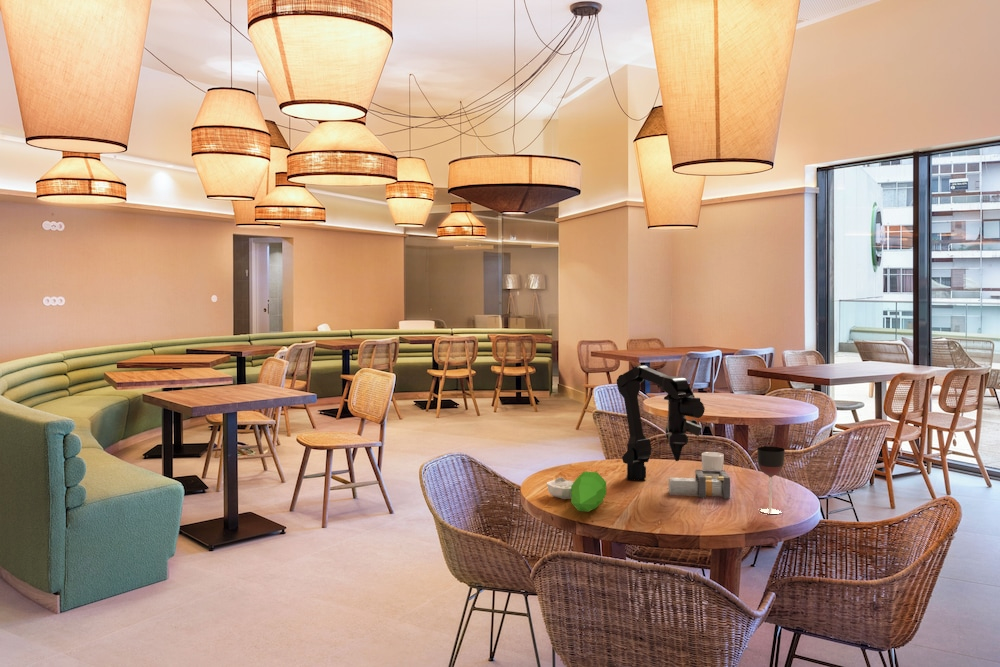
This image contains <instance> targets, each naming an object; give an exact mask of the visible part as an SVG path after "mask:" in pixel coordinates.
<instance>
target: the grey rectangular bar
mask: <svg viewBox="0 0 1000 667" xmlns="http://www.w3.org/2000/svg"><path fill="white" fill-rule="evenodd" d="M668 493H669V496H694V497H695V496H696V497H697V496H698V497H699V478H695V477H668ZM705 497H723V480H717V479H712V480H706V492H705Z"/></svg>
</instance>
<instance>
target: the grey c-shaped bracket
mask: <svg viewBox="0 0 1000 667" xmlns="http://www.w3.org/2000/svg"><path fill="white" fill-rule="evenodd" d="M694 472H695V473H694V476H695V477H694V478H699V496H698V498H699V499H706V496H705V492H706V480H712V477H711V476H705V475H704V474H719V476H717V480H723V496H722V498H723V500H731V477H730V476H729V474H728V473H727V471H726V470H725V469H723V470H702V469H695V470H694Z"/></svg>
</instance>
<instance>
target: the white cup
mask: <svg viewBox="0 0 1000 667" xmlns="http://www.w3.org/2000/svg"><path fill="white" fill-rule="evenodd" d="M724 456H725V454H724V453H722V452H717V451H715V452H714V451H704V452H702V453H701V467H702V469H701V470H724V458H725V457H724ZM704 475H705V476H711V477H712V479H717V476H719V474H704Z"/></svg>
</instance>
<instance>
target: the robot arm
mask: <svg viewBox="0 0 1000 667" xmlns="http://www.w3.org/2000/svg"><path fill="white" fill-rule="evenodd" d="M644 381H647V382H650V383H652V384H654V385H657V386H659V387H661V389H662V391H664V392H665V393H666V395H665V396H664V397H663V400H666V401H667V402H668V407H667V425H666V426H665V428H664V429H665V431H664V432H665V436H666V440H667V441H668V444H669V447H670V450H671V453H672V455H673V459H674V460H675V462H679V461H680V457H681V453H682V450H683V447H684V446H686V445H688V442H689V437H688V435H687V434H686V433H687V432H688V433H690V434H693V435H695V436H696V437H700V435H701V434H700V433H701V431H702V429H703V427H702V426H701V425H700V424H698V421H697V420H696V419H699V418H702V416H704V414H705V405H704V403H703V402H702V401H701V397H695V394H694V392H693V391H692V388H691V386H690V385H689V383H688V379H686V378H685V377H681V376H675V375H674V376H672V375H667V374H665V373H663V372H661V371H657V370H656V369H653V368H651V367H649V366H647V365H646V364H645V365H644V364H643V365H636V366H634V367H633V368H631V369H630V370H628V371H626V372H624V373H623V374H619V376H618V377H617V378H616V386H617V389H618V392H619V394H620V395H621V396H622V397H623V398H622V399H624V406H625V412H626V420H627V425H628V432H629V439H628V441H627V444H626V446H627V450H626V452H625V453H624V454H623V455H622V458H621V459H622V460H621V461H622V463H624V464H626V481H646V478H647V466H646V465H645V463H649V461H650V457H651V454H652V450H653V448H652V444H651V439H650V438H646V437H647V436H645V435H644V430H643V424H642V418H641V412H640V411H641V410H640V406H639V405H640V404H639V399H638V396H639V394H640V390H641V384H642V383H643V382H644ZM686 417H691V418H696V419H691V420H687V418H686Z"/></svg>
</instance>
